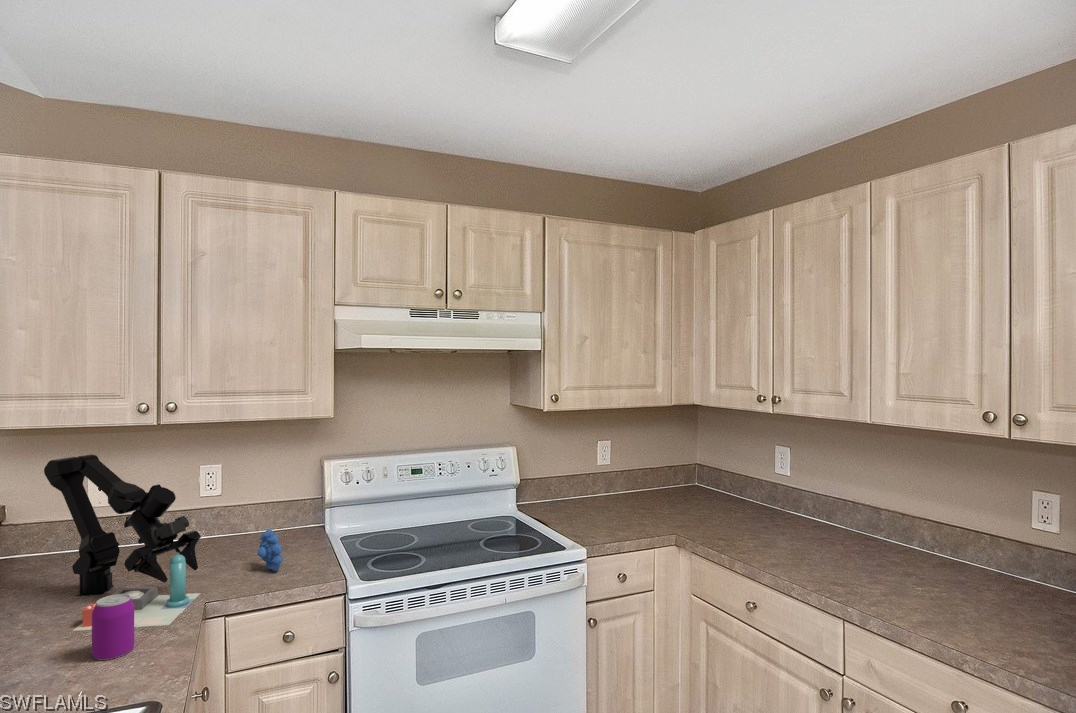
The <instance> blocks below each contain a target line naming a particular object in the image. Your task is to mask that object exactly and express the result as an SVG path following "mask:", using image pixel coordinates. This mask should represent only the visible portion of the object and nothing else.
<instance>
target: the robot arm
mask: <svg viewBox="0 0 1076 713" xmlns="http://www.w3.org/2000/svg"><path fill="white" fill-rule="evenodd" d="M43 473H44V476H45V477H46V479H47V481H48V482H49V484H50V485H51V487H53V488H54V489H56V490H58V491H59V492H61V494H62V497H63V498H64V501H65V503H66V505H67V507H68V510H69V512H70V513H69V514H70V515H71V517H72V520H73V522H74V525H75V528H76V530H77V532H78V534H79V536H80V544H79V548H78V554H79V558H77V560H76V561H75V562H74V563H73V564H72V566H71V567H72V571H73V572H72V573H73V574H74V575H78V576H79V592H78V593H77V594H75V596H76V597H85V596H102V595H104V594H106V593H107V592H108V591H110V590H111V589H112V588H114V587H115V585H114V584H113V573H112V572H111V567H114V566H117V562H118V558H119V555H120V552H121V551H120V547H119V545H120V543H119V542H118V540H117V538H116V535H115V533H114V532H113V531H110V532H106V531H104V530H103V528H102V526H101V524H100V521H99V519H98V516H97V515H96V511H95V508H94V507H93V505H92V502H91V500H90V498H89V496H88V493H87V490H86V488H85V486H84V481H85V478H87V480H89V481H90V482H91V483H92V484H94V485H95V486H96V487H97V488H98V489H99V490H100V491H102V492H103V493H104V494H105V495H106V497H107V503H108V505H109V506H110V507H111V509H112V510H113V511H114V512H115V513H116V514H118V515H123V514H127V513H130V512H132V513H131V514H130V515H128V516H126V517H125V521H124V524H123V528H124V529H125V528H130V527H132V529H133V530H134V532H135V533H136V534H137V536H138V537H139V539H138V540H137V543H138V544H139V545H141V544H143V545H144V546H142V547H138V548H134V549H133V551H132V552H131V553H130V554H129V555H128V556H127V558H126V559H125V560H124V567H125V569H126V570H127V571H128V572H134V573H140V574H144V575H146V576H148V577H149V576H150V577H151V578H154V579H156V580H158V581H160V582H162V583H167V581H169V580H168V579H169V578H168V577H167V575H166V573H165V572H164V570H163V568H162V567H161V565H160V564H159V562H158V560H157V559H158V557H157V556H159V555H162V554H165V553H169V552H171V551H175V552H176V553H178V554H180V555H183V556H184V557H185V559H186V565H188V567H190V568H191V569H192V570H194V571H197V570H198V569H199V565H198V564H199V563H198V561H197V555H196V545H197V544H198V542H199V540H200V539H201V538H202V536H201V534H200V533H199V532H198V530H191V531H188V532H186V531H187V529H186V528H188V527H189V526H190V522H189V520H188V518H187V517H186V516H185V515H181V516H179V517H178V516H177V518H174V521H171V522H163V523H162V522H161V521H160V519H159V518H160V517H163V515H165V513H166V512H167V511H168V509H169V508H170V507H171V506H172V505H173V503H174V502H175V501H176V498H177V497H176V494H175V492H174V491H173V490H170V489H169V488H167V487H163V486H161V485H160V484H155V485H152V486H151V487H150V489H149V490H148V492H147V491H145V490H144V489H143V488H142V487H140V486H138V485H136V484H133V483H130V482H126V481H124V480H123V479H121V478H120V477H119V476H118V475H117V474H115V473H114V472H113V470H111V469H110V468H109V467H107V466H106V465H105V463H103V462H102V461H100V458H99V457H98V455H96V454H92V453H91V454H86V455H85V454H84V455H80V456H70V457H64V458H57V459H51V460H49V461H48V462H47V464H45V466H44V469H43ZM182 532H184V533H182ZM180 533H182V534H181V535H180V537H179V538H178V534H180ZM177 538H178V539H177ZM176 539H177V540H176ZM174 540H175V541H174Z"/></svg>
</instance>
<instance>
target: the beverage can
mask: <svg viewBox="0 0 1076 713" xmlns="http://www.w3.org/2000/svg"><path fill="white" fill-rule="evenodd" d="M114 594H115V593H114ZM95 603H96V605H95V607H94V610H93V612H92V630H91V655H92V657H93V658H94V659H95V660H99V661H107V660H108V661H109V659H110V660H114V659H113V658H115V659H118V658H121V657H123V655H124V656H125V654H126V655H127V654H129V653H131V651H133V650H134V648H135V627H134V604H133V602H132V599H131V597H130V595H128V594H115V595H113V594H110V595H107V596H104V597H101V598H99V599H98V600H96V602H95ZM120 656H121V657H120ZM117 657H118V658H117Z"/></svg>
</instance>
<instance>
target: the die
mask: <svg viewBox="0 0 1076 713" xmlns="http://www.w3.org/2000/svg"><path fill="white" fill-rule="evenodd" d="M95 605H96V602H95V603H89V604H87V605H86V606H85V607H84V609H82V623H83V627H88V626H92V612H93V610H94V607H95Z"/></svg>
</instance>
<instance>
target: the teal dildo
mask: <svg viewBox="0 0 1076 713" xmlns="http://www.w3.org/2000/svg"><path fill="white" fill-rule="evenodd" d="M186 565H187V563H186V559H185V557H184V556H183V555H180V553H178V554H174V555H173V556H172V557H171V558H170V560H169V595H170V599H168V600H167V607H169V608H177V607H182V606H184V605H187V604H188V603H189V597H188V596H186V594H187V593H186V592H187V590H186V589H187V588H186V585H187V584H186V583H187V582H186V581H187V580H186V579H187V578H186V576H187V575H186V574H187V571H186Z"/></svg>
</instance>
